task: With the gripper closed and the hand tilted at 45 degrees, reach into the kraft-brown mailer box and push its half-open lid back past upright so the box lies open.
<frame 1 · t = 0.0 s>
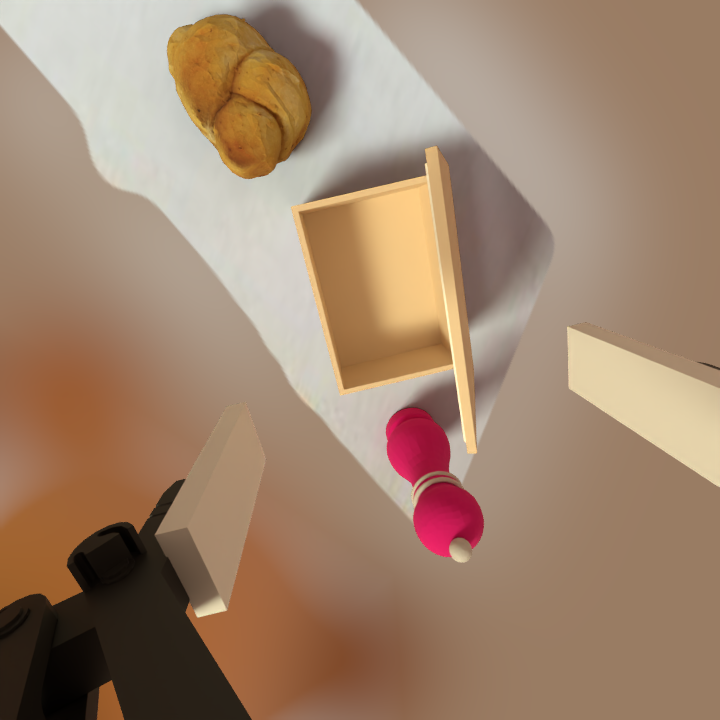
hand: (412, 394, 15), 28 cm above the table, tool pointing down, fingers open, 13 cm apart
mailer box: (376, 283, 41), on the table
pepper mill: (409, 428, 48), on the table
bread roll: (246, 103, 35), on the table
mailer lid: (456, 295, 28), point 14 cm above the table, hinge at 70.0°
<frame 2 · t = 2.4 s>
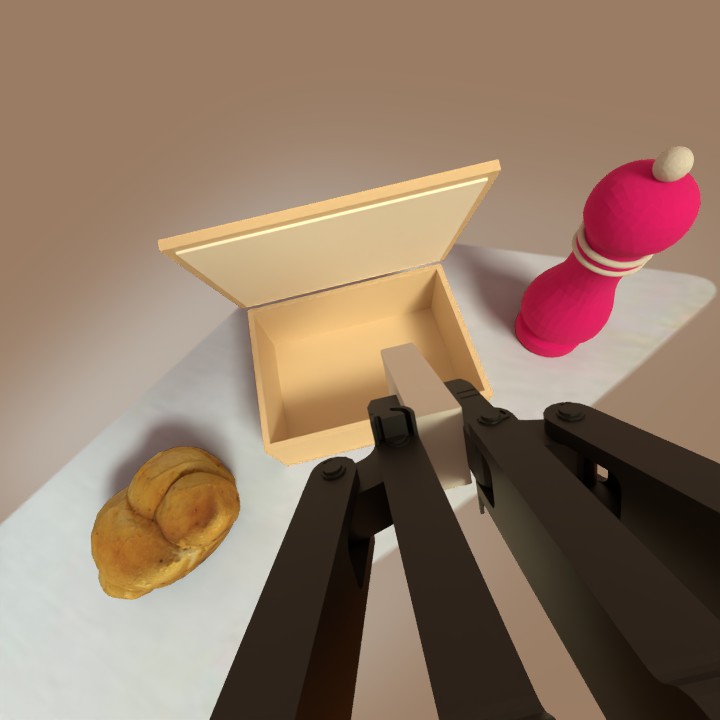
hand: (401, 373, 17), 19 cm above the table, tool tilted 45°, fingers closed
mailer box: (366, 379, 38), on the table
pepper mill: (545, 331, 38), on the table
bread roll: (183, 520, 34), on the table
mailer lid: (338, 253, 27), point 14 cm above the table, hinge at 70.0°
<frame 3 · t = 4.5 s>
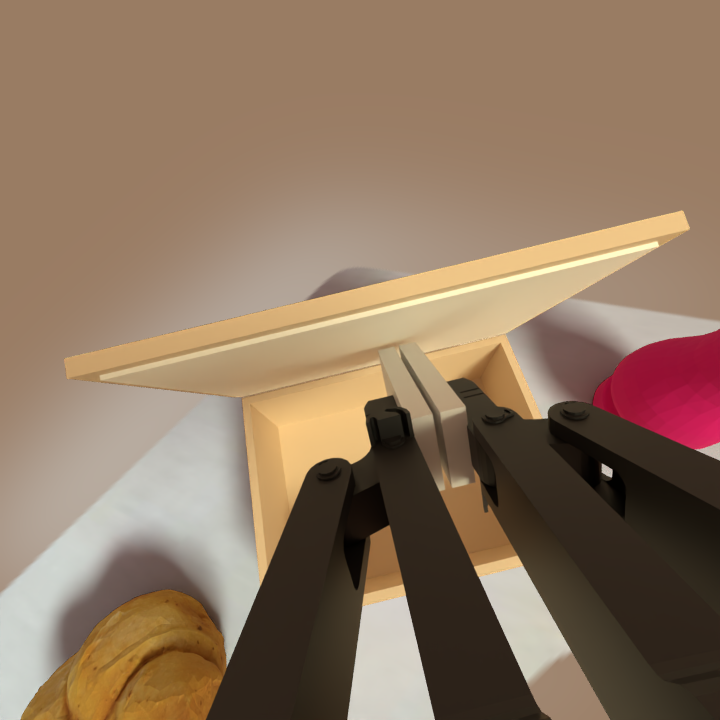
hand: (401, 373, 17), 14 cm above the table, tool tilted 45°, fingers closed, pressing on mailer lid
mailer box: (398, 477, 29), on the table
pepper mill: (633, 413, 29), on the table
bread roll: (151, 688, 25), on the table
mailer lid: (375, 340, 18), point 14 cm above the table, hinge at 73.9°, touching gripper
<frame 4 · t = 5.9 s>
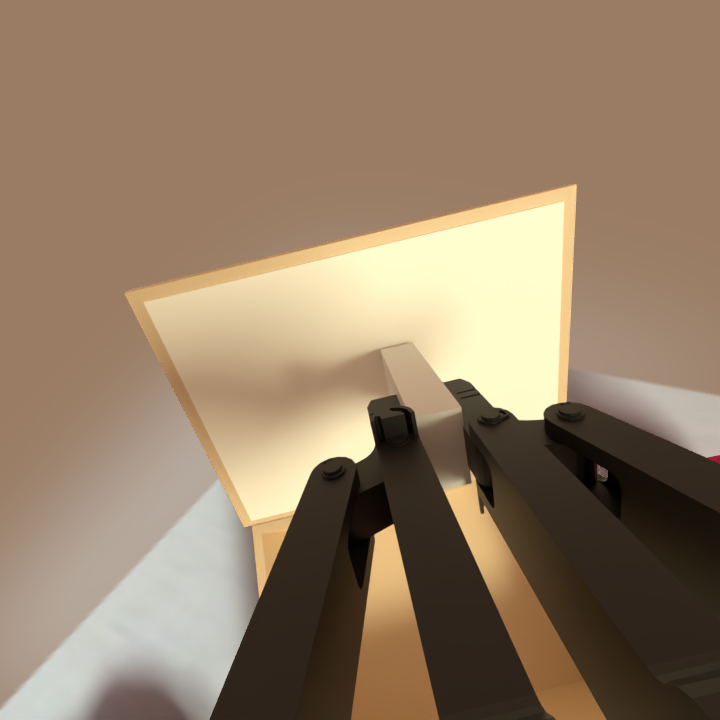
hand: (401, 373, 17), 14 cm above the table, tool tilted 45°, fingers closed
mailer box: (428, 595, 25), on the table
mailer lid: (382, 381, 18), point 13 cm above the table, hinge at 129.6°, touching gripper
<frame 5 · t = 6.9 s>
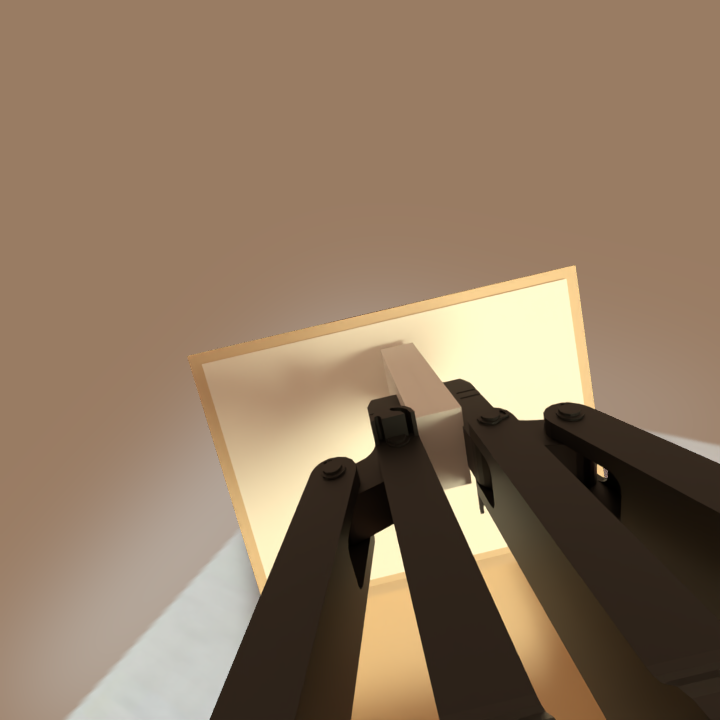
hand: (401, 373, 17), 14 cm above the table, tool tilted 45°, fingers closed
mailer box: (458, 674, 24), on the table
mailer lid: (411, 446, 19), point 11 cm above the table, hinge at 146.1°, touching gripper
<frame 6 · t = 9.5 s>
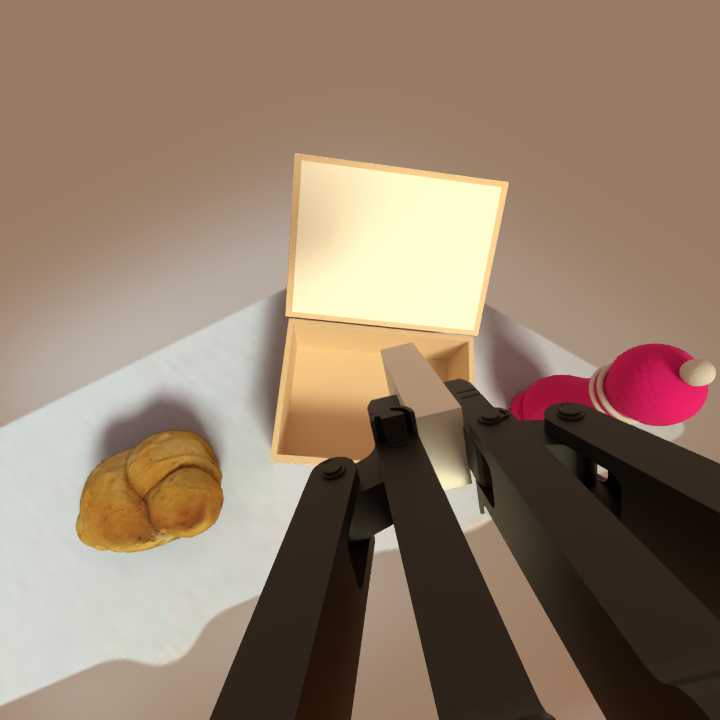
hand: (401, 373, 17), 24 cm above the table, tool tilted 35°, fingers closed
mailer box: (369, 407, 41), on the table
pepper mill: (535, 417, 43), on the table
bread roll: (163, 490, 37), on the table
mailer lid: (393, 251, 34), point 11 cm above the table, hinge at 146.8°
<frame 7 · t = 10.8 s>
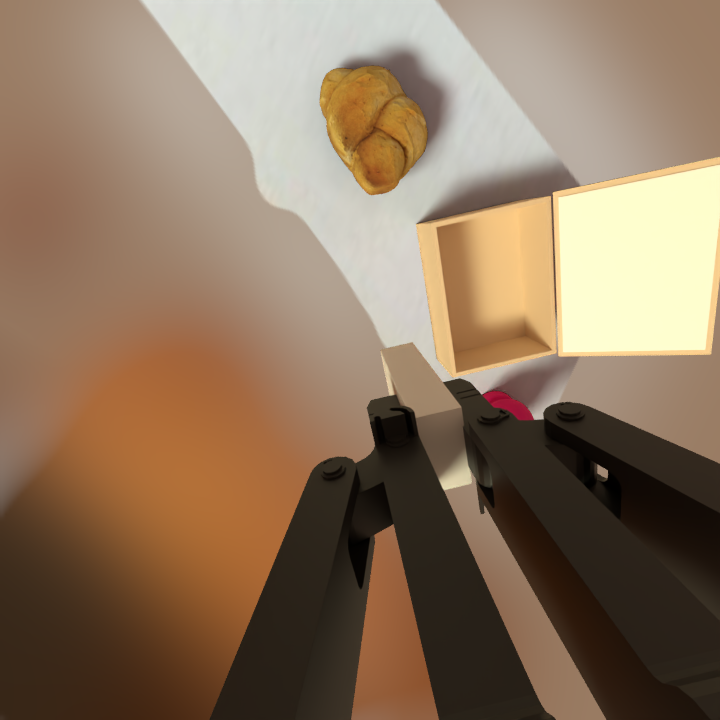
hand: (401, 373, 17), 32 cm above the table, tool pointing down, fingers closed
mailer box: (475, 284, 49), on the table
pepper mill: (491, 409, 56), on the table
bread roll: (369, 131, 43), on the table
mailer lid: (630, 272, 39), point 11 cm above the table, hinge at 146.8°
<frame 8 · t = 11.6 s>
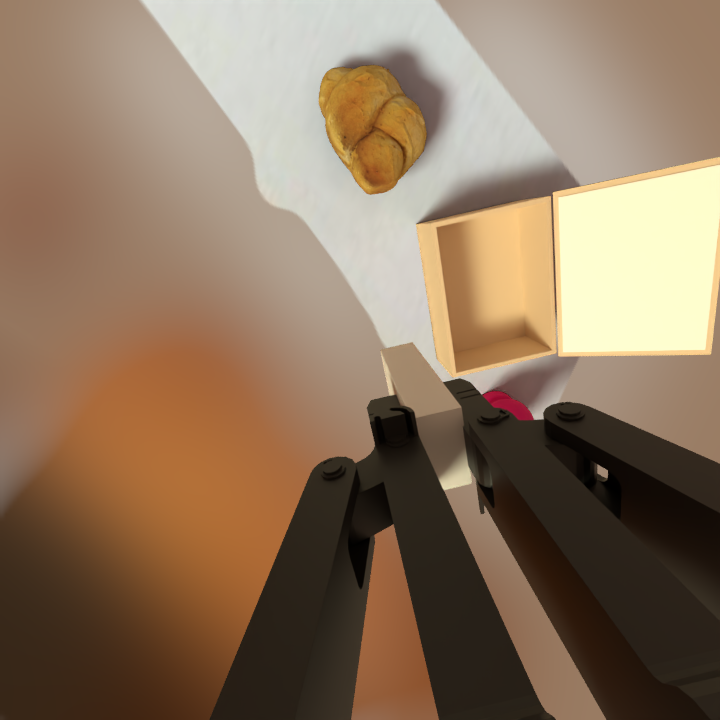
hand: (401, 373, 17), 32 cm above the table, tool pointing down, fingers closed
mailer box: (475, 284, 49), on the table
pepper mill: (491, 409, 56), on the table
bread roll: (368, 131, 43), on the table
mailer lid: (630, 272, 39), point 11 cm above the table, hinge at 146.8°
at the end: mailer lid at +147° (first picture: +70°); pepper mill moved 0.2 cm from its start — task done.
